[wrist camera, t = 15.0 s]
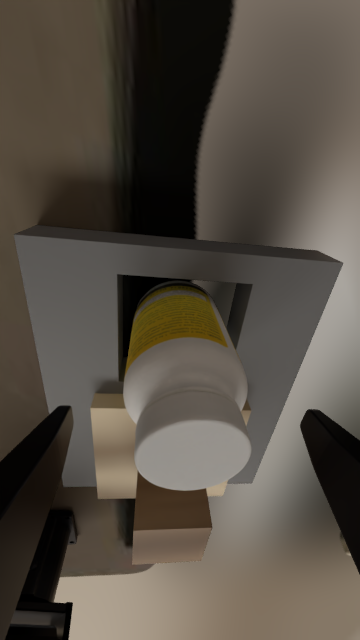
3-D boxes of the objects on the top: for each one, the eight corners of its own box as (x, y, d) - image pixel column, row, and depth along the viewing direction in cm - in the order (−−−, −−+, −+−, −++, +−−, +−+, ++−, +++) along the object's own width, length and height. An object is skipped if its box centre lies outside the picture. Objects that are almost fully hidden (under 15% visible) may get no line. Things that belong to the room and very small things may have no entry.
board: (243, 456, 25) (251, 483, 23) (72, 457, 23) (63, 487, 21) (317, 250, 16) (343, 263, 13) (36, 225, 14) (13, 234, 12)
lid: (219, 481, 22) (239, 577, 17) (101, 482, 21) (81, 587, 16) (245, 396, 18) (284, 494, 12) (94, 393, 16) (63, 499, 11)
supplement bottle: (116, 310, 17) (74, 455, 8) (186, 260, 15) (223, 368, 7) (167, 363, 19) (177, 517, 10) (231, 323, 18) (300, 461, 9)
